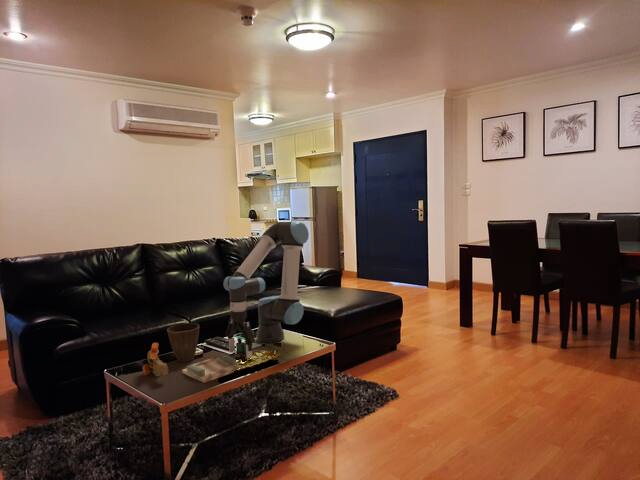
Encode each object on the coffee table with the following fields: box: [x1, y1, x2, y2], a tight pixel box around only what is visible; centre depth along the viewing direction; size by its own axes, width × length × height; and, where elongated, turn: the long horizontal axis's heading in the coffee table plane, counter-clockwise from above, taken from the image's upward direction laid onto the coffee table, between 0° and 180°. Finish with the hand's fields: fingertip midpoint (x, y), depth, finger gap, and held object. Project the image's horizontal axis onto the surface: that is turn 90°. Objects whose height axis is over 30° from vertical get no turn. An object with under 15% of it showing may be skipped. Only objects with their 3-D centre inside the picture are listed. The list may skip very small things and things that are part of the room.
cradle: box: [181, 354, 242, 384], centre depth 198 cm, size 19×18×4 cm
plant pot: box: [166, 322, 200, 363], centre depth 214 cm, size 15×15×16 cm
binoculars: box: [229, 337, 250, 362], centre depth 208 cm, size 9×11×10 cm
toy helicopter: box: [141, 342, 169, 378], centre depth 193 cm, size 8×21×14 cm, turn 39°
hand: (240, 354), depth 208 cm, fingers open, 13 cm apart
